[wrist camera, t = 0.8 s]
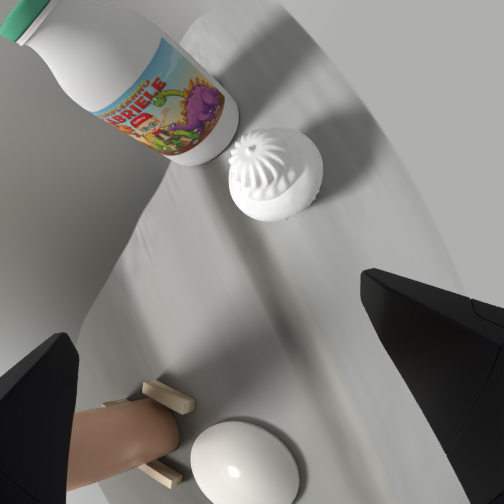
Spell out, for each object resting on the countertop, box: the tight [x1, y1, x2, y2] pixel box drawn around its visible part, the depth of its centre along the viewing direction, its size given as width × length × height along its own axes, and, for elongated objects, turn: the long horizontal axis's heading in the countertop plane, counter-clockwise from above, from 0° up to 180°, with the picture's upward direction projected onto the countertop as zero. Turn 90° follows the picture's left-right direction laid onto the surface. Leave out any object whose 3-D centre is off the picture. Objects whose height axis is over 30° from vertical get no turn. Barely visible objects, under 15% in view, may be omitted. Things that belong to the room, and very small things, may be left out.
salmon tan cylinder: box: [66, 398, 179, 492], centre depth 19 cm, size 6×6×13 cm
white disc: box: [191, 421, 300, 504], centre depth 20 cm, size 9×9×1 cm
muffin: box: [228, 128, 323, 221], centre depth 19 cm, size 6×6×7 cm
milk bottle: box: [0, 0, 239, 166], centre depth 19 cm, size 8×8×20 cm
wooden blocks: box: [101, 380, 196, 489], centre depth 23 cm, size 8×9×3 cm
